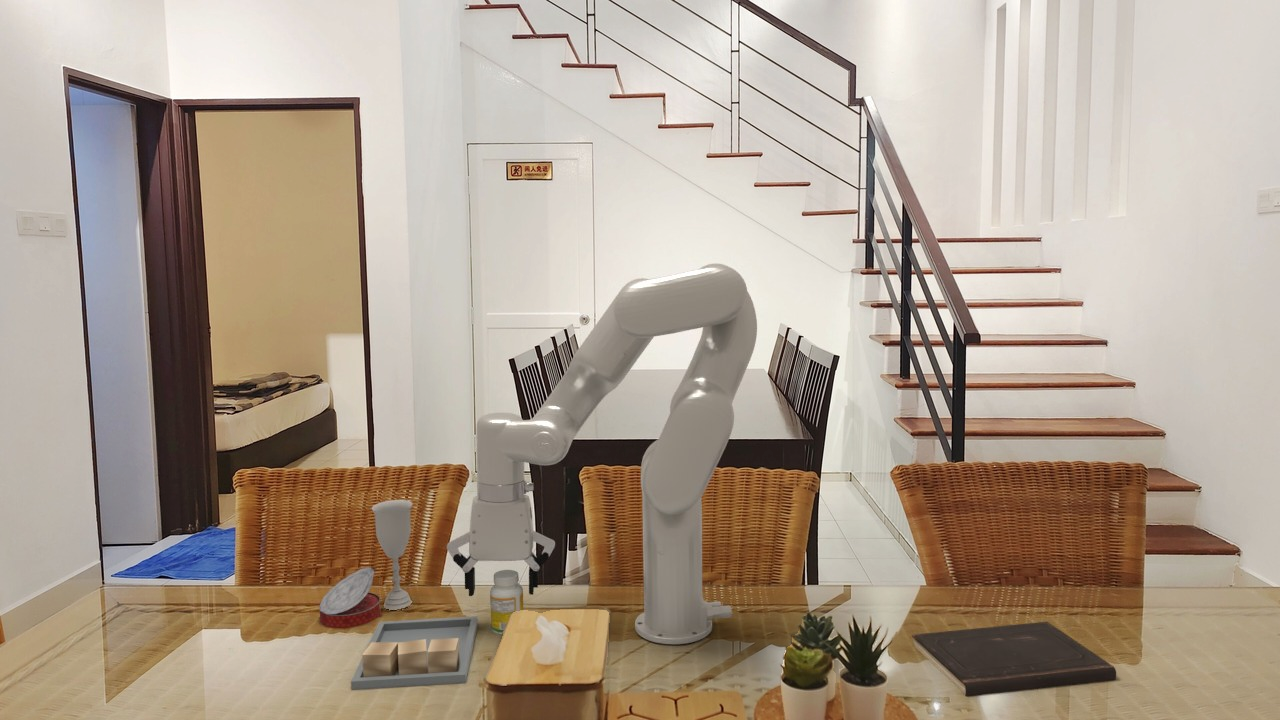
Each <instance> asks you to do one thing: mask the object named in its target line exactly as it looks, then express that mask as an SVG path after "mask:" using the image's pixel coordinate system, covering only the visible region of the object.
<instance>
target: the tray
mask: <svg viewBox="0 0 1280 720" xmlns="http://www.w3.org/2000/svg"><path fill="white" fill-rule="evenodd" d="M478 625H479V616H478V615H477V616H476V615H475V616H460V617H459V616H457V617H456V616H455V617H440V618H439V617H438V618H426V619H425V618H423V619H405V620H404V619H402V620H387V621H378V623H377V625H376V628H375V629H374V632H373V633H372V636H371V638H370V640H369V643H368V645H367V647H366V648H365V650H366V649H367V648H368V647H369V645H370V644H371V643H372V642H398V643H399V642H407V641H415V640H423V639H426V650H427V652H428V648H429V645H430V642H431V640H434V639H451V638H459V659H460V664H459V669H458V672H445V673H428V674H412V675H399V670H398V671H397V673H396V674H395V676H380V677H364V676H363V661H362V658H361V659H360V662H359V664H358V665H357V668H356V670H355V672H354V674H353V677H352V678H351V681H350V689H351V691H353V690H354V691H355V690H369V689H371V690H373V689H388V688H401V687H402V688H403V687H419V686H435V685H437V686H438V685H449V684H450V685H452V684H453V685H454V684H465V683H466V682H467V678H468V674H469V671H470V670H469V668H470V664H471V660H472V654H473V650H474V645H475V641H476V640H475V639H476V635H477V630H478V627H479V626H478ZM427 669H428V654H427Z"/></svg>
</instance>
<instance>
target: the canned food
mask: <svg viewBox="0 0 1280 720" xmlns="http://www.w3.org/2000/svg"><path fill="white" fill-rule="evenodd" d="M374 575H375V571H374V569H373V568H372V567H369V566H366V567H365V568H360V569H358V570H357V571H355V572H353V573H350V574H349V575H348V576H345V578H343V579H342V580H340V581H339V582H338V583H336V584H335V585H334V586H332V587H331V588H329V590H328V592H327V593H326V594H325V595H324V596H323V597H322V600H321V602H320V604H319V607H318V608H319V620H320V623H321V625H323V626H324V627H325V626H326V627H328V628H334V629H344V628H345V629H347V628H353V627H354V628H355V627H359V626H362V625H366V624H369V623H370V622H373V621H375V620H376V619H377V618H381V617H382V616H381V615H382V614H381V613H382V611H381V597H380V596H379V595H378V594H376V593H373V592H370V590H371V587H372V585H373V580H374V579H373V578H374Z"/></svg>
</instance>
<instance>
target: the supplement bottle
mask: <svg viewBox="0 0 1280 720" xmlns="http://www.w3.org/2000/svg"><path fill="white" fill-rule="evenodd" d="M493 584H494V585H492V586H491V589H490V590H489V591H490V592H489V593H490V594H489V598H490V599H489V601H490V624H491V631H492V632H493V633H496V634H499V635H500V634H501V635H503V634H502V633H503V631H504V629H505V626H506V623H507V621H508V619H509V617H510V615H511V614H512V613H513V612H515V611H520V610H524V609H525V608H524V588H523V586H522V585H521V584H520V583H519V572H518V571H517V570H513V569H502V570H498V571H496V572H494V574H493Z"/></svg>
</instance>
